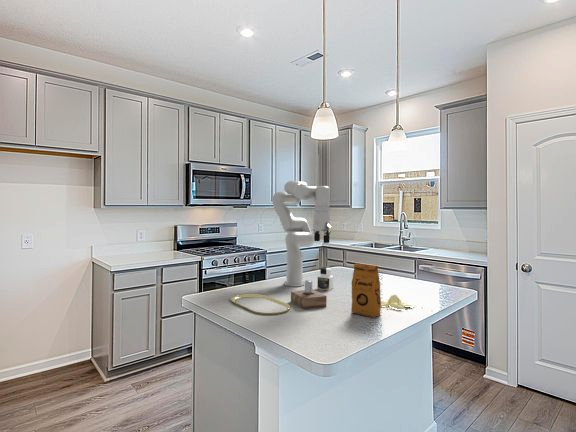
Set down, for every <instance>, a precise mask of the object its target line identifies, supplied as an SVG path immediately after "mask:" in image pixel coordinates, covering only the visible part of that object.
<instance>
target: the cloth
mask: <svg viewBox="0 0 576 432" xmlns="http://www.w3.org/2000/svg"><path fill="white" fill-rule="evenodd" d="M387 300H388V301H387V302H385V300H384V301H382V300H381V307H382V306H389V305H390V306H391V307H394V308H397V309H407V308H404V307H405V306H412V305H403V304H405V303H406V304H408V302H402V300H401V299H400V297H399V296H398V295H397V294H391V295H390V297H389V298H388V299H387Z"/></svg>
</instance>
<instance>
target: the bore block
mask: <svg viewBox="0 0 576 432" xmlns="http://www.w3.org/2000/svg"><path fill="white" fill-rule="evenodd" d="M290 302H291V303H292V304H294V305H296V306H298V307H299V308H301V309H303V310H309V309H318V308H324V307H327V295H325V294H323V293H321V292H319V291H318V290H317V291H316V290H314V289H313V288H312V295H305V289H300V290H291V291H290Z"/></svg>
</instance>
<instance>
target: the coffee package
mask: <svg viewBox="0 0 576 432" xmlns="http://www.w3.org/2000/svg"><path fill="white" fill-rule="evenodd" d="M353 267H354V268H353V271H352V278H351V279H352V280H351V313H352V314H353V313H354V314H357V315H360V314H361V316H365V317H369V318H370V317H371V318H373V317H376V316H377V317H378V315H379V316H381V309H382V308H381V301H382V300H381V299H382V297H381V282H380V275H379V273H380V272H379V269H378V265H370V264H363V263H354V265H353ZM377 317H376V318H377Z"/></svg>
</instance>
